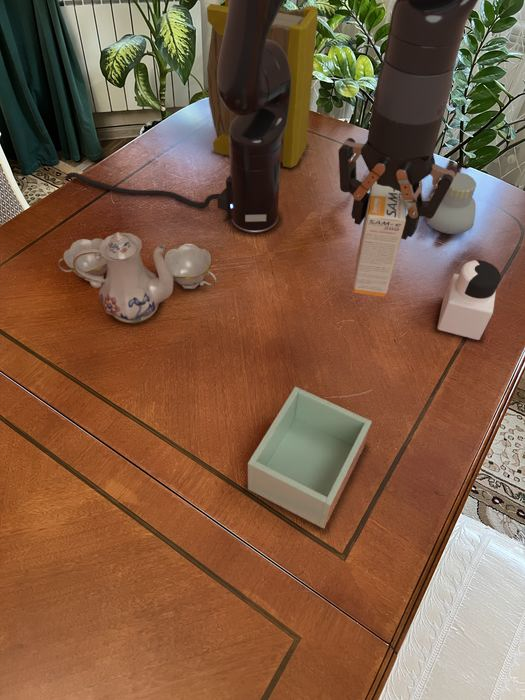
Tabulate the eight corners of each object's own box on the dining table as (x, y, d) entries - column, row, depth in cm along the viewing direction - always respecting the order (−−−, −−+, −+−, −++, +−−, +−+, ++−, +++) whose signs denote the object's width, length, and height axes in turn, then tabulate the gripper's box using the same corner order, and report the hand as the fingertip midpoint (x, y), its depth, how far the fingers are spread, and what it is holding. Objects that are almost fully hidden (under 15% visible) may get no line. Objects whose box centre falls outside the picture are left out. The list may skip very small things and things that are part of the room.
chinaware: (218, 268, 108) (215, 189, 96) (215, 329, 96) (211, 248, 84) (68, 268, 107) (46, 188, 95) (47, 330, 95) (18, 248, 83)
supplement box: (387, 298, 78) (407, 221, 67) (351, 293, 78) (366, 216, 68) (390, 257, 83) (409, 180, 72) (356, 253, 83) (371, 176, 73)
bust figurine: (483, 311, 100) (507, 260, 91) (479, 341, 96) (504, 291, 86) (442, 301, 101) (462, 250, 92) (436, 330, 97) (456, 279, 88)
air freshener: (468, 244, 111) (485, 201, 103) (425, 238, 112) (438, 196, 104) (466, 208, 118) (481, 166, 110) (425, 203, 118) (437, 161, 110)
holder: (247, 489, 79) (247, 463, 73) (292, 415, 86) (295, 386, 80) (323, 529, 76) (330, 505, 69) (363, 448, 83) (372, 421, 77)
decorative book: (309, 145, 131) (321, 0, 107) (293, 171, 124) (303, 24, 100) (228, 127, 135) (223, -16, 111) (209, 152, 128) (199, 6, 105)
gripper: (486, 103, 61) (444, 228, 74) (359, 71, 65) (341, 196, 78) (467, 137, 56) (426, 264, 70) (333, 101, 61) (319, 227, 74)
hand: (382, 227), depth 74 cm, fingers closed on supplement box, 5 cm apart
